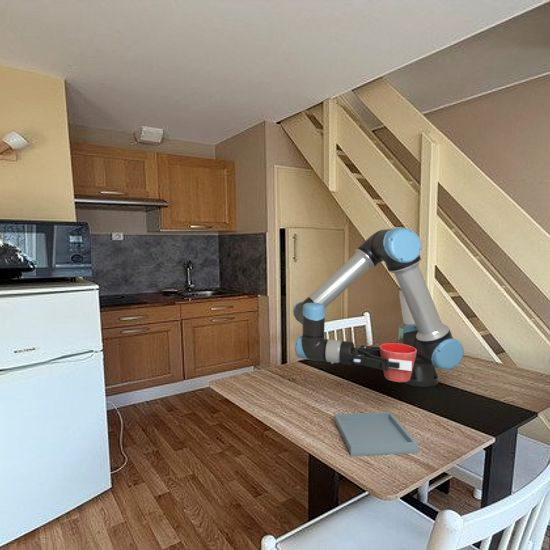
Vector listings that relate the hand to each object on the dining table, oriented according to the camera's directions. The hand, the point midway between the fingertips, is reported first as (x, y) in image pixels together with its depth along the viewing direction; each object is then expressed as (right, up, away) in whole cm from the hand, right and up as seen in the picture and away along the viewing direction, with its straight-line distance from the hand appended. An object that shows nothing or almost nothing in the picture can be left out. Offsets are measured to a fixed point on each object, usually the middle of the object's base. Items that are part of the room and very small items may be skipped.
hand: (412, 360), depth 107 cm
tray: (-14, -20, -7) cm, 26 cm away
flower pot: (-4, -6, +2) cm, 8 cm away
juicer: (+26, -14, +64) cm, 71 cm away
